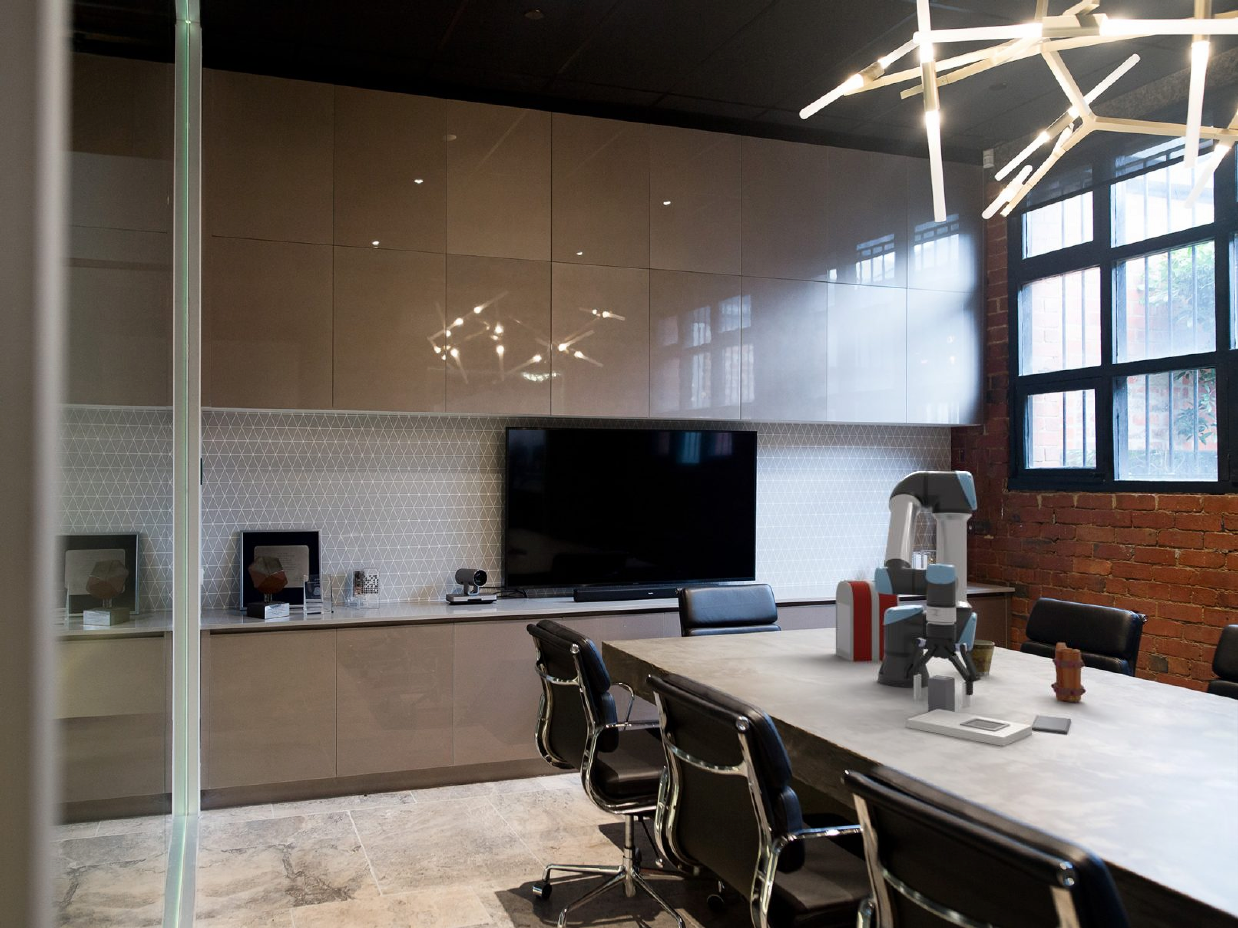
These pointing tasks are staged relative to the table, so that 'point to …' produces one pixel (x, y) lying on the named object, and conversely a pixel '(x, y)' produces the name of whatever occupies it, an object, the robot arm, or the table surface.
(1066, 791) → the table surface
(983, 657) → the ceramic cup
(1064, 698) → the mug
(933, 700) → the grey rectangular block
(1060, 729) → the phone
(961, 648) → the robot arm
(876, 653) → the red striped box
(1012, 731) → the outlet plate
